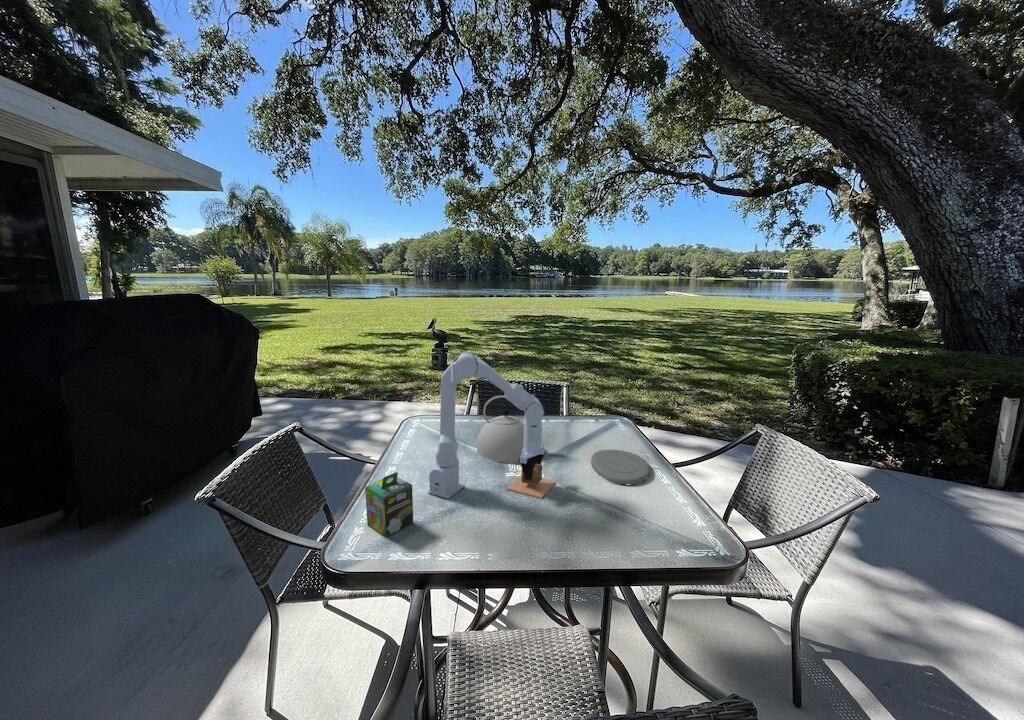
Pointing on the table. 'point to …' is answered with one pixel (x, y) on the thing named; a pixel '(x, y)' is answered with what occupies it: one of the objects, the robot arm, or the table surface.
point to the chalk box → (389, 504)
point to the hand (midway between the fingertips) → (531, 476)
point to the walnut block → (534, 475)
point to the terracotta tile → (531, 487)
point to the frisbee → (620, 466)
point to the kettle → (501, 437)
